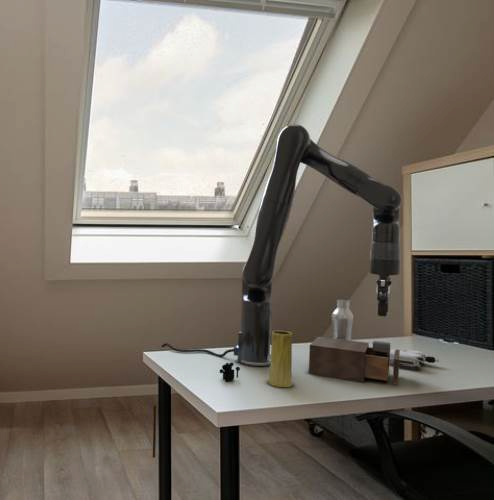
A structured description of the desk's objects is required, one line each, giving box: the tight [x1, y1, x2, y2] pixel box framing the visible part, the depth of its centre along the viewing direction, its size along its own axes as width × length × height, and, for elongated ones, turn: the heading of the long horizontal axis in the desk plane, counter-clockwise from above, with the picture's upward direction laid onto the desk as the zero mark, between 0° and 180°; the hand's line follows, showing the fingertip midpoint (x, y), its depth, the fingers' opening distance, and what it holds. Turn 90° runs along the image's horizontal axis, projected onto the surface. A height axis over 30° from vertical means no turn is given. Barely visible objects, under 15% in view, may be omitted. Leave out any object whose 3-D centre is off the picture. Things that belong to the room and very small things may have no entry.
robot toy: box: [389, 349, 440, 366], centre depth 154 cm, size 12×4×15 cm
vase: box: [268, 330, 293, 388], centre depth 130 cm, size 6×6×14 cm
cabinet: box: [308, 336, 370, 383], centre depth 143 cm, size 15×15×9 cm
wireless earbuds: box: [219, 361, 241, 382], centre depth 133 cm, size 7×2×5 cm, turn 117°
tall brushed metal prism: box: [372, 340, 392, 357], centre depth 138 cm, size 4×2×8 cm, turn 59°
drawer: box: [364, 346, 421, 385], centre depth 138 cm, size 18×13×7 cm
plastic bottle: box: [331, 299, 355, 341], centre depth 157 cm, size 6×7×20 cm
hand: (382, 314), depth 137 cm, fingers open, 8 cm apart
